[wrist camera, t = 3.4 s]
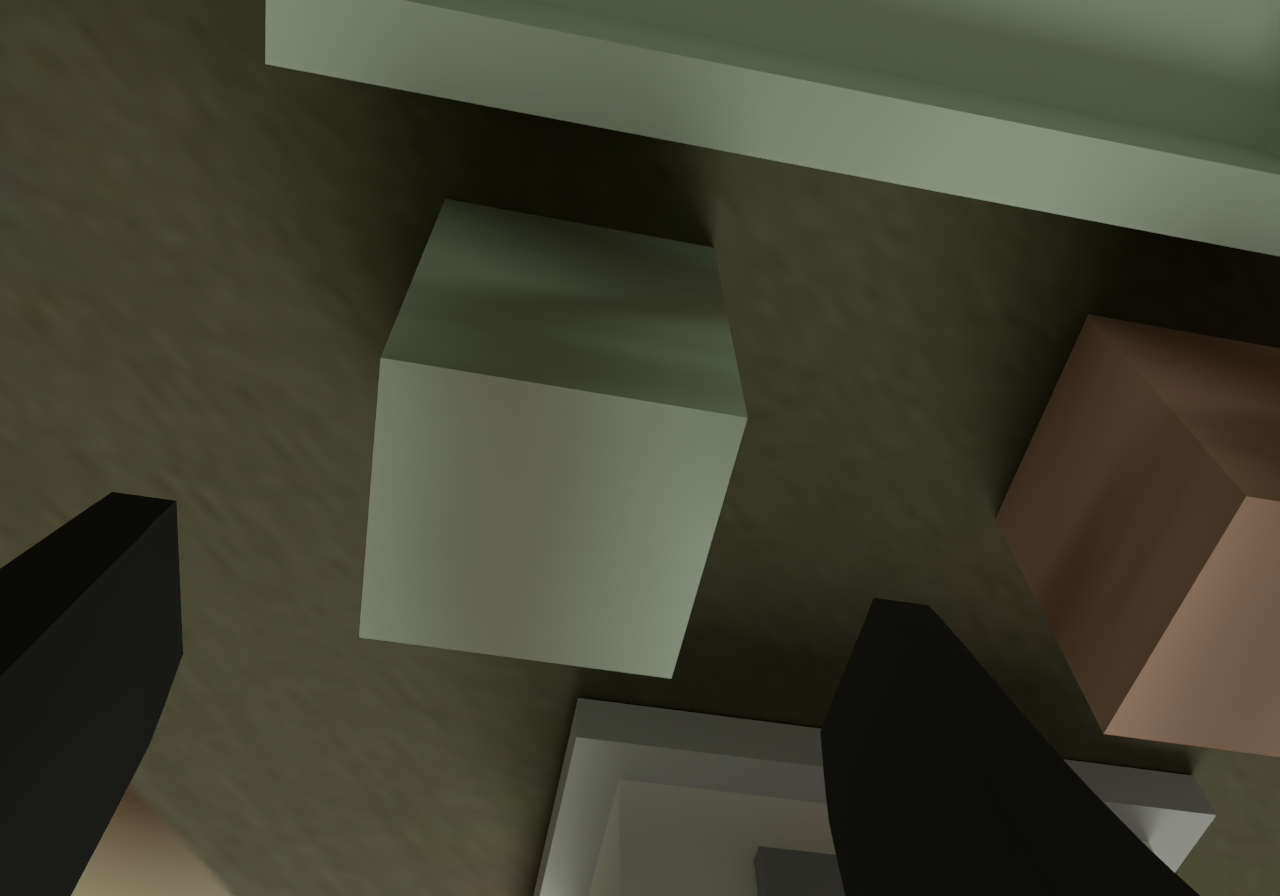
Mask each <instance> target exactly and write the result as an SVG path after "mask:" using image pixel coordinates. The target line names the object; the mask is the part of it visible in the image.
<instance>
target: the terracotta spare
mask: <svg viewBox="0 0 1280 896" xmlns="http://www.w3.org/2000/svg"><path fill="white" fill-rule="evenodd" d="M995 520H996V522H997V524H998V526H999V528H1000V530H1001V532H1002V534H1003V536H1004V538H1005V540H1006V542H1007V544H1008V546H1009V547H1010V549H1011V551H1012V553H1013V555H1014V557H1015V559H1016V561H1017V563H1018V565H1019V567H1020V569H1021V571H1022V573H1023V575H1024V577H1025V579H1026V581H1027V583H1028V585H1029V587H1030V589H1031V591H1032V593H1033V595H1034V597H1035V599H1036V601H1037V603H1038V605H1039V607H1040V609H1041V611H1042V613H1043V615H1044V617H1045V619H1046V621H1047V623H1048V625H1049V627H1050V629H1051V631H1052V633H1053V635H1054V637H1055V639H1056V641H1057V643H1058V645H1059V647H1060V649H1061V651H1062V653H1063V655H1064V657H1065V659H1066V661H1067V663H1068V665H1069V667H1070V669H1071V671H1072V673H1073V675H1074V677H1075V679H1076V681H1077V683H1078V685H1079V686H1080V688H1081V690H1082V692H1083V694H1084V696H1085V698H1086V700H1087V702H1088V704H1089V706H1090V708H1091V710H1092V712H1093V714H1094V716H1095V718H1096V720H1097V722H1098V724H1099V726H1100V728H1101V730H1102V732H1103V734H1107V735H1115V736H1122V737H1130V738H1138V739H1145V740H1153V741H1161V742H1168V743H1176V744H1184V745H1191V746H1199V747H1207V748H1214V749H1222V750H1229V751H1237V752H1245V753H1252V754H1260V755H1268V756H1275V757H1280V348H1275V347H1270V346H1264V345H1258V344H1253V343H1247V342H1242V341H1236V340H1230V339H1225V338H1219V337H1213V336H1208V335H1202V334H1197V333H1191V332H1185V331H1180V330H1174V329H1169V328H1163V327H1157V326H1152V325H1146V324H1141V323H1135V322H1129V321H1124V320H1118V319H1112V318H1107V317H1101V316H1096V315H1090V314H1088V316H1087V319H1086V321H1085V323H1084V325H1083V327H1082V330H1081V332H1080V334H1079V336H1078V338H1077V341H1076V343H1075V345H1074V347H1073V349H1072V352H1071V354H1070V356H1069V358H1068V360H1067V363H1066V365H1065V367H1064V369H1063V371H1062V373H1061V376H1060V378H1059V380H1058V382H1057V384H1056V387H1055V389H1054V391H1053V393H1052V395H1051V398H1050V400H1049V402H1048V404H1047V406H1046V409H1045V411H1044V413H1043V415H1042V417H1041V420H1040V422H1039V424H1038V426H1037V428H1036V431H1035V433H1034V435H1033V437H1032V439H1031V442H1030V444H1029V446H1028V448H1027V450H1026V453H1025V455H1024V457H1023V459H1022V461H1021V464H1020V466H1019V468H1018V470H1017V472H1016V475H1015V477H1014V479H1013V481H1012V483H1011V486H1010V488H1009V490H1008V492H1007V494H1006V497H1005V499H1004V501H1003V503H1002V505H1001V507H1000V510H999V512H998V514H997V516H996V518H995Z"/></svg>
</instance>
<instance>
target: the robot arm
mask: <svg viewBox="0 0 1280 896" xmlns="http://www.w3.org/2000/svg"><path fill="white" fill-rule="evenodd" d="M182 655H183V645H182V622H181V599H180V575H179V552H178V529H177V506H176V501H173V500H166V499H159V498H151V497H144V496H137V495H130V494H123V493H115V492H112V493H110V494H109V495H107V496H106V497H104V498H103V499H101V500H100V501H98V502H97V503H95V504H94V505H92V506H91V507H89V508H88V509H86V510H85V511H83V512H82V513H80V514H79V515H77V516H76V517H74V518H73V519H72V520H70V521H69V522H67V523H66V524H64V525H63V526H61V527H60V528H58V529H57V530H56V531H54V532H53V533H51V534H50V535H48V536H47V537H46V538H44V539H43V540H41V541H40V542H38V543H37V544H35V545H34V546H33V547H31V548H30V549H28V550H27V551H25V552H24V553H22V554H21V555H20V556H18V557H17V558H15V559H14V560H12V561H11V562H9V563H8V564H6V565H5V566H4V567H2V568H1V569H0V896H71V894H72V892H73V890H74V889H75V887H76V885H77V883H78V881H79V879H80V877H81V875H82V873H83V871H84V870H85V868H86V866H87V864H88V861H89V860H90V858H91V856H92V854H93V852H94V850H95V849H96V847H97V845H98V843H99V841H100V839H101V837H102V835H103V833H104V832H105V830H106V828H107V826H108V824H109V822H110V820H111V818H112V816H113V814H114V812H115V810H116V808H117V807H118V805H119V803H120V801H121V799H122V797H123V795H124V793H125V791H126V789H127V787H128V785H129V783H130V782H131V780H132V778H133V776H134V774H135V772H136V770H137V768H138V766H139V764H140V762H141V760H142V758H143V756H144V754H145V752H146V750H147V748H148V746H149V744H150V742H151V739H152V736H153V734H154V731H155V729H156V726H157V723H158V721H159V718H160V716H161V713H162V710H163V708H164V705H165V702H166V700H167V697H168V694H169V691H170V688H171V686H172V683H173V680H174V677H175V674H176V672H177V669H178V666H179V663H180V660H181V658H182ZM820 735H821V747H822V759H823V771H824V783H825V792H826V801H827V810H828V819H829V825H830V829H831V834H832V839H833V843H834V848H835V852H836V857H837V861H838V866H839V870H840V875H841V879H842V884H843V888H844V893H845V896H1200V895H1199V894H1198V893H1196V892H1195V891H1194V890H1193V889H1192V888H1191V887H1190V886H1189V885H1188V884H1186V883H1185V882H1184V881H1183V880H1182V879H1181V878H1180V877H1179V876H1178V875H1176V874H1175V873H1174V872H1173V871H1172V870H1171V869H1170V868H1169V867H1168V866H1167V865H1166V864H1165V863H1164V862H1163V861H1162V860H1161V859H1160V858H1159V857H1158V856H1156V855H1155V854H1154V853H1153V852H1152V851H1151V850H1150V849H1149V848H1148V847H1147V846H1146V845H1145V844H1144V843H1143V842H1142V841H1141V840H1140V839H1139V838H1138V837H1137V836H1136V835H1135V834H1134V833H1133V832H1132V831H1131V830H1130V829H1129V828H1128V827H1127V826H1126V825H1125V824H1124V823H1123V822H1122V821H1121V820H1120V819H1119V818H1118V817H1117V816H1116V814H1115V813H1114V812H1113V811H1112V810H1111V809H1110V808H1109V807H1108V806H1107V805H1106V804H1105V803H1104V802H1103V801H1102V800H1101V799H1100V798H1099V797H1098V796H1097V795H1096V794H1095V793H1094V792H1093V791H1092V790H1091V789H1090V788H1089V787H1088V786H1087V784H1086V783H1085V782H1084V781H1083V780H1082V779H1081V778H1080V777H1079V776H1078V775H1077V774H1076V773H1075V772H1074V771H1073V769H1072V768H1071V767H1070V766H1069V765H1068V764H1067V763H1066V762H1065V761H1064V760H1063V759H1062V757H1061V756H1060V755H1059V754H1058V753H1057V752H1056V751H1055V750H1054V749H1053V748H1052V746H1051V745H1050V744H1049V743H1048V742H1047V741H1046V740H1045V739H1044V737H1043V736H1042V735H1041V734H1040V733H1039V732H1038V731H1037V730H1036V728H1035V727H1034V726H1033V725H1032V724H1031V723H1030V722H1029V720H1028V719H1027V718H1026V717H1025V716H1024V715H1023V714H1022V712H1021V711H1020V710H1019V709H1018V708H1017V707H1016V705H1015V704H1014V703H1013V702H1012V701H1011V700H1010V699H1009V697H1008V696H1007V695H1006V694H1005V693H1004V692H1003V690H1002V689H1001V688H1000V687H999V686H998V685H997V683H996V682H995V681H994V680H993V679H992V677H991V676H990V675H989V674H988V673H987V672H986V670H985V669H984V668H983V667H982V666H981V665H980V663H979V662H978V661H977V660H976V659H975V658H974V656H973V655H972V654H971V653H970V652H969V651H968V649H967V648H966V647H965V646H964V645H963V644H962V642H961V641H960V640H959V639H958V638H957V637H956V635H955V634H954V633H953V632H952V631H951V630H950V629H949V627H948V626H947V625H946V624H945V623H944V622H943V621H942V620H941V618H940V617H939V616H938V615H937V614H936V613H935V612H934V611H933V610H932V609H931V608H930V607H929V606H928V605H921V604H914V603H907V602H900V601H892V600H885V599H878V598H874V599H873V602H872V604H871V607H870V609H869V612H868V614H867V617H866V619H865V622H864V624H863V627H862V629H861V632H860V634H859V637H858V639H857V642H856V644H855V647H854V649H853V651H852V654H851V656H850V659H849V661H848V664H847V666H846V669H845V671H844V674H843V676H842V679H841V681H840V684H839V686H838V689H837V691H836V694H835V696H834V699H833V701H832V704H831V706H830V709H829V711H828V714H827V716H826V719H825V721H824V724H823V726H822V729H821V731H820Z"/></svg>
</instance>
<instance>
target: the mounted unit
mask: <svg viewBox="0 0 1280 896" xmlns="http://www.w3.org/2000/svg"><path fill="white" fill-rule="evenodd" d="M820 731H821V729H820V728H812V727H804V726H797V725H789V724H781V723H773V722H765V721H757V720H749V719H741V718H733V717H725V716H717V715H710V714H702V713H694V712H686V711H678V710H670V709H662V708H654V707H646V706H638V705H630V704H623V703H615V702H607V701H599V700H591V699H583V698H578V700H577V705H576V709H575V714H574V718H573V722H572V727H571V731H570V736H569V740H568V745H567V749H566V753H565V758H564V762H563V767H562V771H561V775H560V780H559V784H558V789H557V793H556V798H555V802H554V806H553V811H552V815H551V820H550V824H549V829H548V833H547V837H546V842H545V846H544V851H543V855H542V860H541V864H540V868H539V873H538V877H537V882H536V886H535V891H534V895H533V896H845V893H844V888H843V884H842V879H841V875H840V870H839V866H838V861H837V857H836V852H835V848H834V843H833V839H832V834H831V829H830V825H829V819H828V810H827V801H826V792H825V783H824V771H823V759H822V747H821V735H820ZM1063 760H1064V761H1065V762H1066V763H1067V764H1068V765H1069V766H1070V767H1071V768H1072V769H1073V771H1074V772H1075V773H1076V774H1077V775H1078V776H1079V777H1080V778H1081V779H1082V780H1083V781H1084V782H1085V783H1086V784H1087V786H1088V787H1089V788H1090V789H1091V790H1092V791H1093V792H1094V793H1095V794H1096V795H1097V796H1098V797H1099V798H1100V799H1101V800H1102V801H1103V802H1104V803H1105V804H1106V805H1107V806H1108V807H1109V808H1110V809H1111V810H1112V811H1113V812H1114V813H1115V814H1116V816H1117V817H1118V818H1119V819H1120V820H1121V821H1122V822H1123V823H1124V824H1125V825H1126V826H1127V827H1128V828H1129V829H1130V830H1131V831H1132V832H1133V833H1134V834H1135V835H1136V836H1137V837H1138V838H1139V839H1140V840H1141V841H1142V842H1143V843H1144V844H1145V845H1146V846H1147V847H1148V848H1149V849H1150V850H1151V851H1152V852H1153V853H1154V854H1155V855H1156V856H1158V857H1159V858H1160V859H1161V860H1162V861H1163V862H1164V863H1165V864H1166V865H1167V866H1168V867H1169V868H1170V869H1171V870H1172V871H1173V872H1174V873H1175V872H1176V870H1177V869H1178V868H1179V866H1180V865H1181V864H1182V862H1183V861H1184V859H1185V858H1186V857H1187V855H1188V854H1189V852H1190V851H1191V850H1192V848H1193V847H1194V846H1195V844H1196V843H1197V841H1198V840H1199V839H1200V837H1201V836H1202V834H1203V833H1204V832H1205V830H1206V829H1207V828H1208V826H1209V825H1210V823H1211V822H1212V821H1213V819H1214V818H1215V816H1216V814H1215V812H1214V810H1213V808H1212V807H1211V805H1210V803H1209V801H1208V800H1207V798H1206V796H1205V794H1204V793H1203V791H1202V789H1201V788H1200V786H1199V784H1198V782H1197V781H1196V779H1195V777H1194V776H1192V775H1184V774H1176V773H1168V772H1160V771H1153V770H1145V769H1137V768H1129V767H1121V766H1113V765H1105V764H1097V763H1089V762H1081V761H1073V760H1066V759H1063Z"/></svg>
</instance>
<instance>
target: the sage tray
mask: <svg viewBox="0 0 1280 896" xmlns="http://www.w3.org/2000/svg"><path fill="white" fill-rule="evenodd" d="M265 64H268V65H273V66H279V67H284V68H289V69H294V70H300V71H305V72H310V73H315V74H321V75H326V76H331V77H337V78H342V79H347V80H352V81H358V82H363V83H368V84H373V85H379V86H384V87H389V88H394V89H400V90H405V91H410V92H416V93H421V94H426V95H431V96H437V97H442V98H447V99H452V100H458V101H463V102H468V103H474V104H479V105H484V106H489V107H495V108H500V109H505V110H510V111H516V112H521V113H526V114H531V115H537V116H542V117H547V118H553V119H558V120H563V121H568V122H574V123H579V124H584V125H589V126H595V127H600V128H605V129H611V130H616V131H621V132H626V133H632V134H637V135H642V136H647V137H653V138H658V139H663V140H668V141H674V142H679V143H684V144H690V145H695V146H700V147H705V148H711V149H716V150H721V151H726V152H732V153H737V154H742V155H748V156H753V157H758V158H763V159H769V160H774V161H779V162H784V163H790V164H795V165H800V166H805V167H811V168H816V169H821V170H827V171H832V172H837V173H842V174H848V175H853V176H858V177H863V178H869V179H874V180H879V181H885V182H890V183H895V184H900V185H906V186H911V187H916V188H921V189H927V190H932V191H937V192H943V193H948V194H953V195H958V196H964V197H969V198H974V199H979V200H985V201H990V202H995V203H1000V204H1006V205H1011V206H1016V207H1022V208H1027V209H1032V210H1037V211H1043V212H1048V213H1053V214H1058V215H1064V216H1069V217H1074V218H1080V219H1085V220H1090V221H1095V222H1101V223H1106V224H1111V225H1116V226H1122V227H1127V228H1132V229H1137V230H1143V231H1148V232H1153V233H1159V234H1164V235H1169V236H1174V237H1180V238H1185V239H1190V240H1195V241H1201V242H1206V243H1211V244H1217V245H1222V246H1227V247H1232V248H1238V249H1243V250H1248V251H1253V252H1259V253H1264V254H1269V255H1274V256H1280V0H266V39H265Z"/></svg>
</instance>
